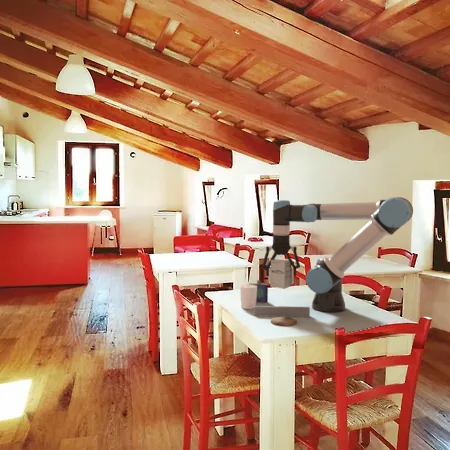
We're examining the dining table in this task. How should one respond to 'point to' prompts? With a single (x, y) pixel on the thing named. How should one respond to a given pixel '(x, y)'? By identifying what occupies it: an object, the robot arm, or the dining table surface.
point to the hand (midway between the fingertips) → (280, 283)
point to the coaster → (284, 321)
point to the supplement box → (280, 273)
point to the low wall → (281, 311)
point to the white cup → (248, 296)
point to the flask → (261, 291)
